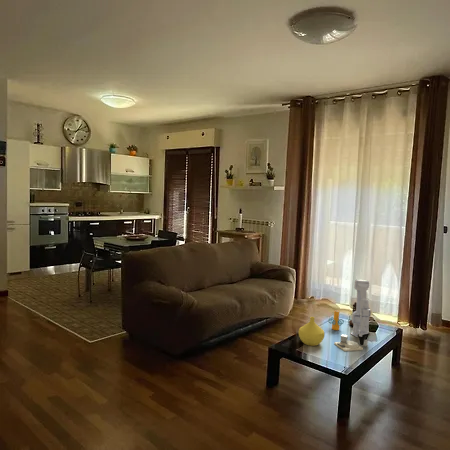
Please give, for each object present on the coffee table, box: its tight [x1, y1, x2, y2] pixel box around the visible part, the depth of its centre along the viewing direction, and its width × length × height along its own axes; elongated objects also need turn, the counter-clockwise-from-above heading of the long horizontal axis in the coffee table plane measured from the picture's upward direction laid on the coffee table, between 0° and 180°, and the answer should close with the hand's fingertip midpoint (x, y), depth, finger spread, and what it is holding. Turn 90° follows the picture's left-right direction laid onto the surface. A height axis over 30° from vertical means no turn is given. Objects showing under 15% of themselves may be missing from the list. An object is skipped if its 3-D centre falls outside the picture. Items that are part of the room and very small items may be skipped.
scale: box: [333, 339, 364, 352], centre depth 276 cm, size 15×13×2 cm
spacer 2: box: [358, 338, 368, 348], centre depth 279 cm, size 4×4×5 cm
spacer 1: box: [339, 333, 349, 344], centre depth 278 cm, size 4×4×5 cm
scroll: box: [348, 301, 360, 326], centre depth 321 cm, size 15×15×20 cm
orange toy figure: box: [327, 309, 345, 331], centre depth 311 cm, size 12×10×15 cm
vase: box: [298, 316, 325, 347], centre depth 278 cm, size 18×18×19 cm
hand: (363, 343), depth 279 cm, fingers closed on spacer 2, 5 cm apart
